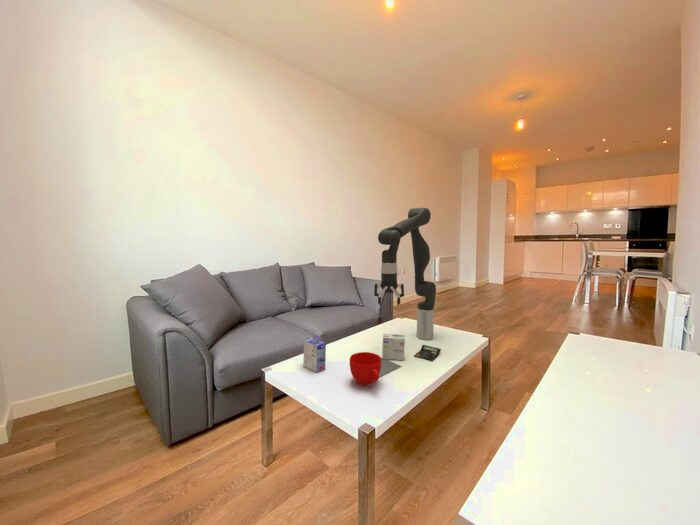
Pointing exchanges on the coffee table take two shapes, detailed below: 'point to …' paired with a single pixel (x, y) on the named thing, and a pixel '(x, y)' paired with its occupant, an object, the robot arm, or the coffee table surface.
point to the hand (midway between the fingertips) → (389, 304)
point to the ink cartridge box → (314, 354)
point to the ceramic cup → (365, 367)
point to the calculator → (428, 353)
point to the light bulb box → (393, 346)
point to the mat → (387, 367)
